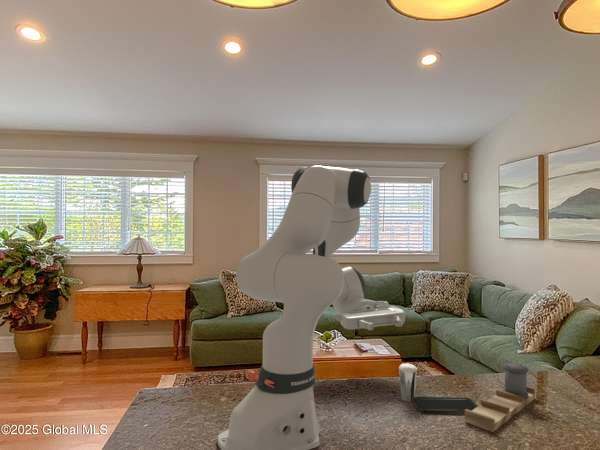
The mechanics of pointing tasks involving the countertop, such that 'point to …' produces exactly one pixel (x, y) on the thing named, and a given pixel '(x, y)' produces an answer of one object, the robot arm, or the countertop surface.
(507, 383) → the spool
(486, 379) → the countertop surface
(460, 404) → the phone
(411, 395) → the milkshake
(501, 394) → the organizer
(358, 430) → the countertop surface
